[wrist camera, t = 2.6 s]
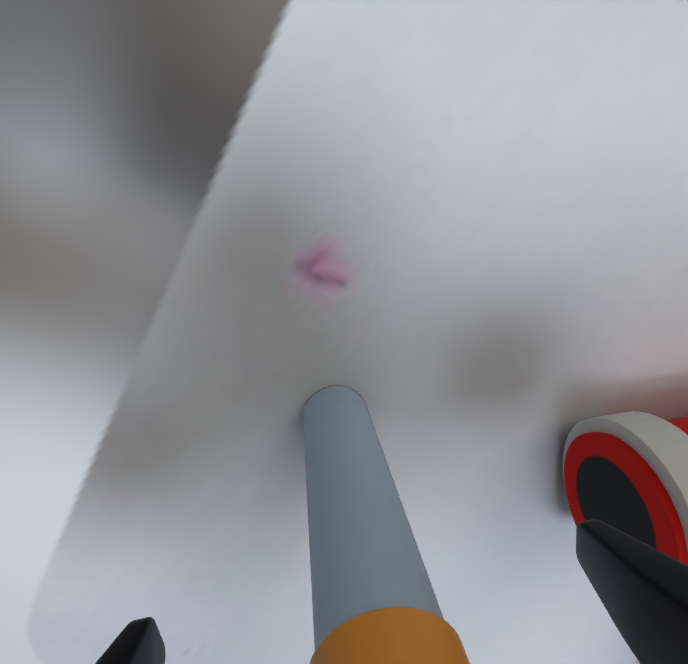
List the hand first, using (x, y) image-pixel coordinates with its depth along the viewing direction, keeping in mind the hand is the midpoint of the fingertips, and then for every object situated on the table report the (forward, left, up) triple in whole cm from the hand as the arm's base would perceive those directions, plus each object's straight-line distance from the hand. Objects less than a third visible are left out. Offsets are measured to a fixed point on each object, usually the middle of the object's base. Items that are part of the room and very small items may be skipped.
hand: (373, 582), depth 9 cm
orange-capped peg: (0, 0, -7) cm, 7 cm away
